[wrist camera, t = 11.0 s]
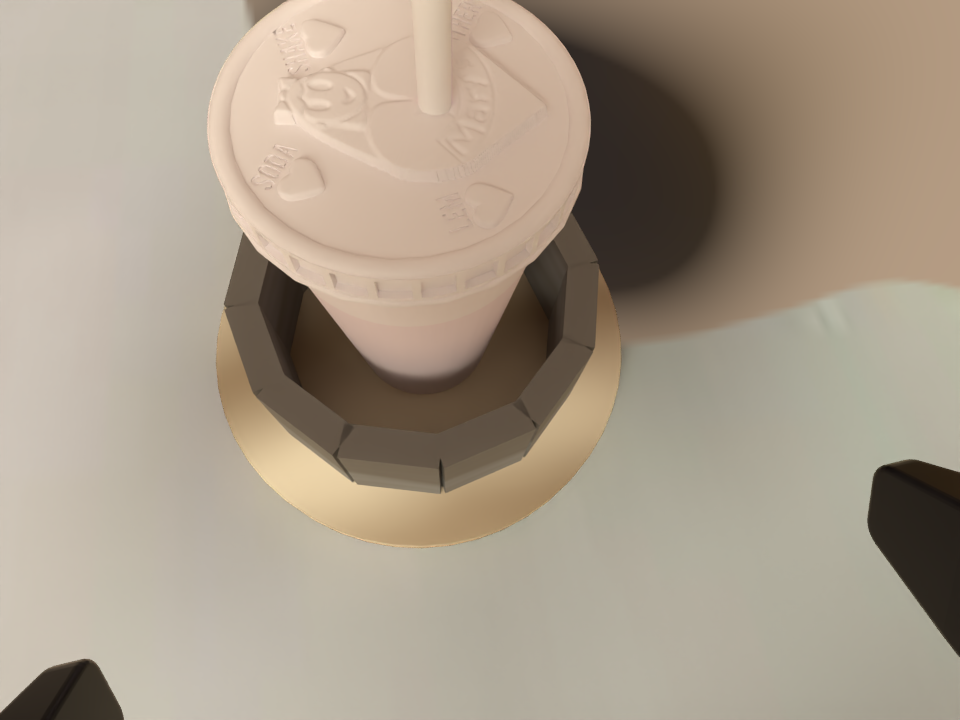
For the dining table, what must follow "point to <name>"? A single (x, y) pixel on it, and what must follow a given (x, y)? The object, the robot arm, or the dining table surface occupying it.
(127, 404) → the dining table surface
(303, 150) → the smoothie
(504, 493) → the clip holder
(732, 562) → the dining table surface
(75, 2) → the dining table surface
